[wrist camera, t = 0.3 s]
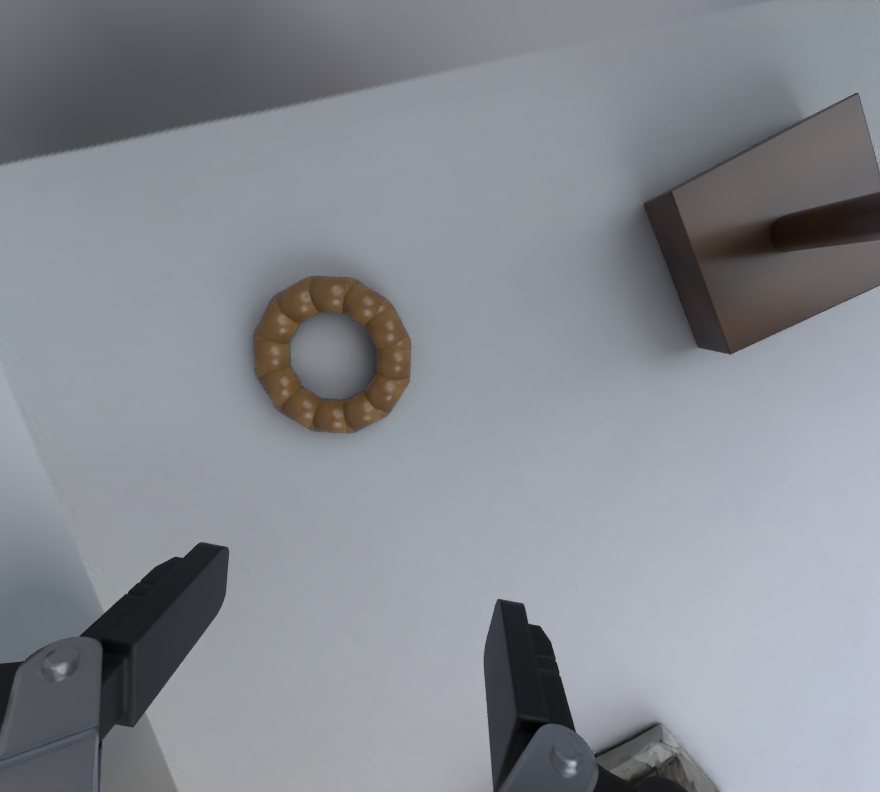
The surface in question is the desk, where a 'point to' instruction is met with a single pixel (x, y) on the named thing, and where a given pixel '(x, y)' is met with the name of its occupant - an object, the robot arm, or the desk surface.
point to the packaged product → (656, 761)
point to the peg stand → (775, 230)
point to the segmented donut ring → (356, 304)
